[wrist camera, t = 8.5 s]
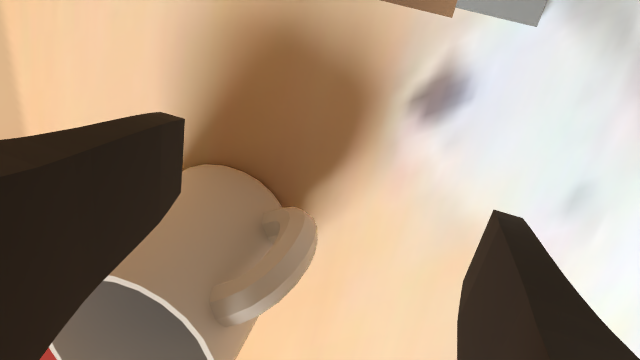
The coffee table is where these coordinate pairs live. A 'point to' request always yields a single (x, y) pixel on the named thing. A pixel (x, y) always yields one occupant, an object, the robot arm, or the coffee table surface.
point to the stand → (507, 9)
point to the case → (429, 5)
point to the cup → (196, 275)
